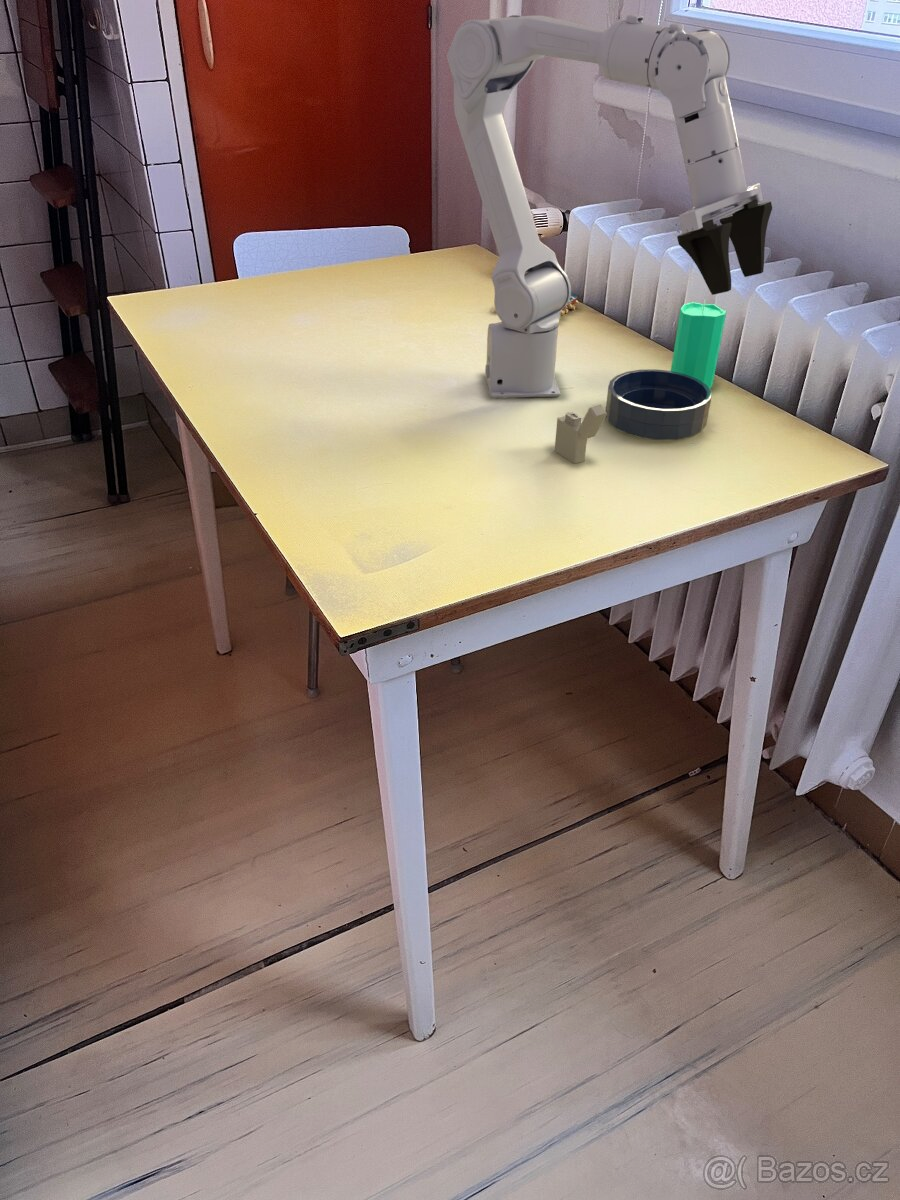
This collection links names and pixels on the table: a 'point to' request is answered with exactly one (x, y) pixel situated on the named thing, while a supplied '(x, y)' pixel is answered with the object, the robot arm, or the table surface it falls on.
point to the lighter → (577, 433)
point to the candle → (698, 341)
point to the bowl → (658, 404)
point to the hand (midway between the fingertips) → (738, 283)
